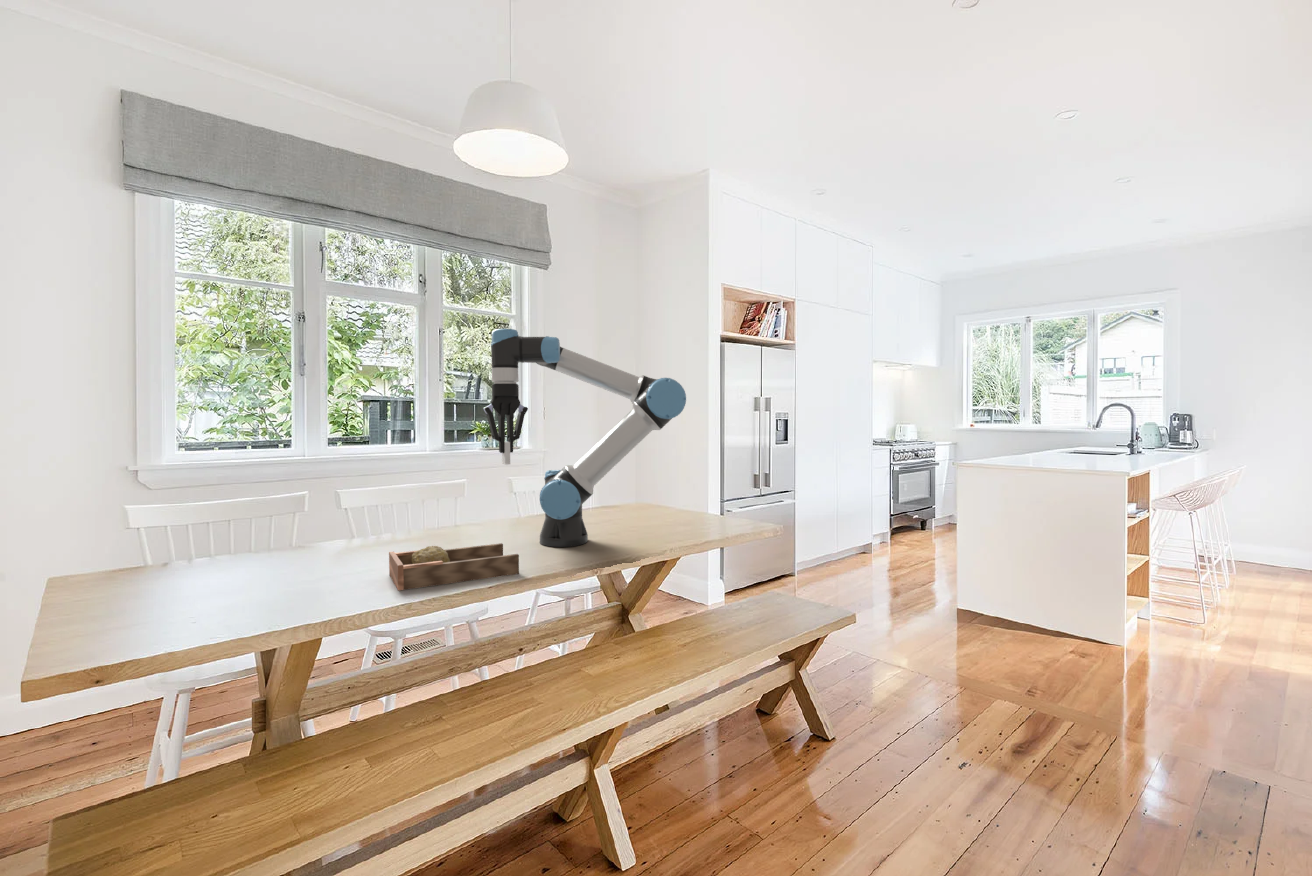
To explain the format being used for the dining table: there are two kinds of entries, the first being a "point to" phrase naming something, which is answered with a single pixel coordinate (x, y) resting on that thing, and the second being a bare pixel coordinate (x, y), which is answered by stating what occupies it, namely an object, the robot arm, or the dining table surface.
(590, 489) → the robot arm
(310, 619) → the dining table surface
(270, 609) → the dining table surface
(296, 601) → the dining table surface
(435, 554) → the coral
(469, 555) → the tray
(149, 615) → the dining table surface
